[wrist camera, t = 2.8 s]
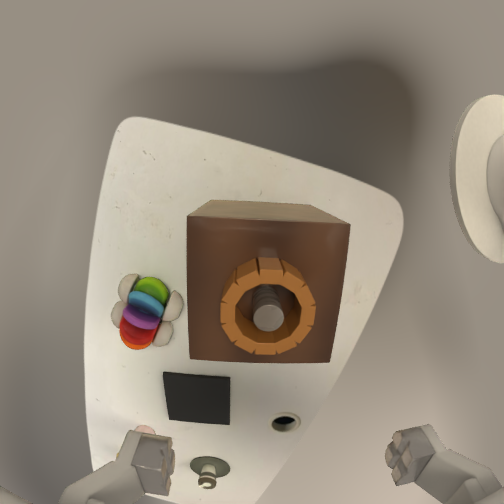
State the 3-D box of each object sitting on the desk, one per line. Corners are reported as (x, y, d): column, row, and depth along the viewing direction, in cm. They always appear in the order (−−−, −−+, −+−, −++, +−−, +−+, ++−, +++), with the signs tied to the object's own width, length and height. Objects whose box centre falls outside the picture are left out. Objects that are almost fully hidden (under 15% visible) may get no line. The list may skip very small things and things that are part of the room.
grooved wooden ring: (311, 259, 23) (320, 271, 20) (302, 335, 24) (308, 355, 21) (224, 255, 22) (221, 267, 20) (222, 333, 24) (219, 353, 21)
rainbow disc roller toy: (114, 319, 40) (93, 344, 33) (132, 259, 38) (110, 277, 31) (167, 344, 41) (155, 374, 34) (191, 287, 39) (180, 311, 32)
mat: (230, 376, 42) (230, 379, 42) (229, 422, 45) (229, 425, 44) (163, 371, 42) (162, 373, 41) (169, 417, 44) (169, 419, 44)
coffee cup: (252, 471, 48) (252, 490, 44) (205, 486, 50) (203, 503, 45) (212, 441, 46) (210, 462, 41) (165, 458, 47) (160, 477, 43)
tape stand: (310, 204, 37) (368, 232, 19) (302, 298, 39) (339, 386, 22) (210, 199, 36) (175, 223, 18) (208, 294, 39) (182, 384, 21)
